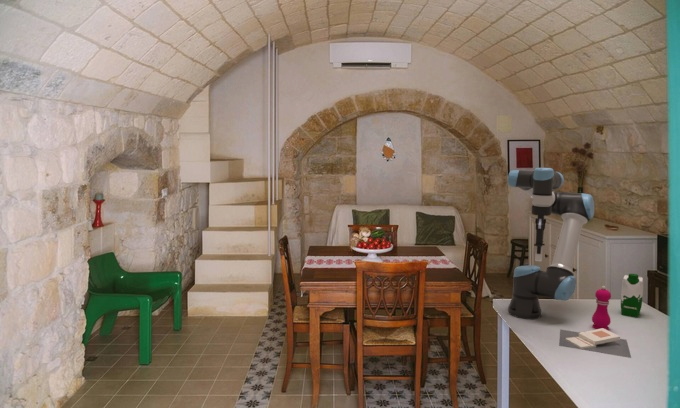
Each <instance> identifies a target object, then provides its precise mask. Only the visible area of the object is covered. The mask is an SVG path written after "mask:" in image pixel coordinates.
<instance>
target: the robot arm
mask: <svg viewBox="0 0 680 408" xmlns="http://www.w3.org/2000/svg"><path fill="white" fill-rule="evenodd" d="M564 183H565V179H564V175H563V174H562V173H560V172H559V171H554V169H553V168H551V167H535V169H534V170H522V169H517V170H513V169H512V170H510V171H509V173H508V176H507V185H508V186H509V187H511V188H519V189H520V190H522V192H523V193H525V194H526V195H528V197H530V200H532V201H531V202H532V203H531V204H532V205H531V214H532V215H534V216H537V218H535V221H534V222H535V223H534V224H535V231H536V232H535V243H534V244H533V246H534V247H535V254H534V261H535V262H540V263H541V262H543V252H544V251H543V247H544V246H545V245H546V244H545V243H544V234H545V233H544V232H545V229H546V223H547V219H546V218H545V217H546V216H547V217H548V216H551V215H555V216H560V217H561V219H562V224H561V225H562V226H561V230H560V232H559V235H558V236H559V237H558V240H557V243H556V246H555V251H554V254H553V258H552V262H551V265H548V266H547V267H546V270H545V271H544V270H541V267H540V266H539V265H532V264H531V265H529V264H527V265H520V266H517V267H515V268H514V270H513V276H512V277H513V280H512V282H513V283H512V295H511V296H512V297H511V299H510V302H509V304H508V306H507V313H508V314H509V315H511V316H513V317H517V318H520V319H528V320H534V319H539V318H541V317H542V307H541V303H540V300H539V298H540V297H545V298H548V299H551V300H552V299H553V300H556V301H563V302H565V301H569V300H570V299H571V298H572V297H573V295H574V293H575V291H576V288H577V278H576V277H575V276H574V275H575V273H574V272H573V270H572V269H573V265H574V264H573V263H574V261H575V256H576V254H577V248H578V246H579V241H580V237H581V234H582V229H583V226H584V225H586V224H587V223H588V221H589V220H590V219H593V218H594V215H595V201H594V197H593V196H592V195H591V194H590V193H583V192H581V193H579V192H569V191H568V192H565V191H554V190H557V189H559V188H561V187H562V186H563V185H564Z"/></svg>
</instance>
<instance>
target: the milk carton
mask: <svg viewBox="0 0 680 408" xmlns="http://www.w3.org/2000/svg"><path fill="white" fill-rule="evenodd" d="M621 283H622V284H621V290H620V291H621V292H620V293H621V294H620V310H621V312H620V313H621V316H627V317H632V318H636V319H638V318H639V317H640V313H641V310H642V304H643V296H644V286H645V285H644V278H643V277H642V276H639V274H638V273H637V274H636V273H629V274H628V275H627V274H625V275H624V276H623V279H622V281H621Z"/></svg>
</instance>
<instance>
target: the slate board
mask: <svg viewBox="0 0 680 408" xmlns="http://www.w3.org/2000/svg"><path fill="white" fill-rule="evenodd" d="M579 333H581V332H580V331H574V330H566V329H562V328H561V329H559V344H558V345H559V347H565V348H571V349H576V350H582V351H588V352H593V353H599V354H605V355H612V356H617V357H623V358H629V359H632V355H631V351H630V348H629V344H628V340H627V339H624V338H620V340H616V341H611V342H607V343H602V344H597V345H596V347H594V348H585V349H580V348H578V347H577V346H575V345H573V344H571V343H570V342H568V341H566V340H565V338H571V337H579Z"/></svg>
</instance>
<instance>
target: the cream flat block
mask: <svg viewBox="0 0 680 408" xmlns="http://www.w3.org/2000/svg"><path fill="white" fill-rule="evenodd" d="M579 337H581V338H583V339H585V340H587V341H589V342H590V343H592V344H594V345H597V344H602V343H607V342H611V341H616V340H620V339H621V336H620V335H619V334H616V333H614V332H612V331H609V330H606V329H604V328H601V329H592V330H586V331H582V332H581V333H579Z"/></svg>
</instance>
